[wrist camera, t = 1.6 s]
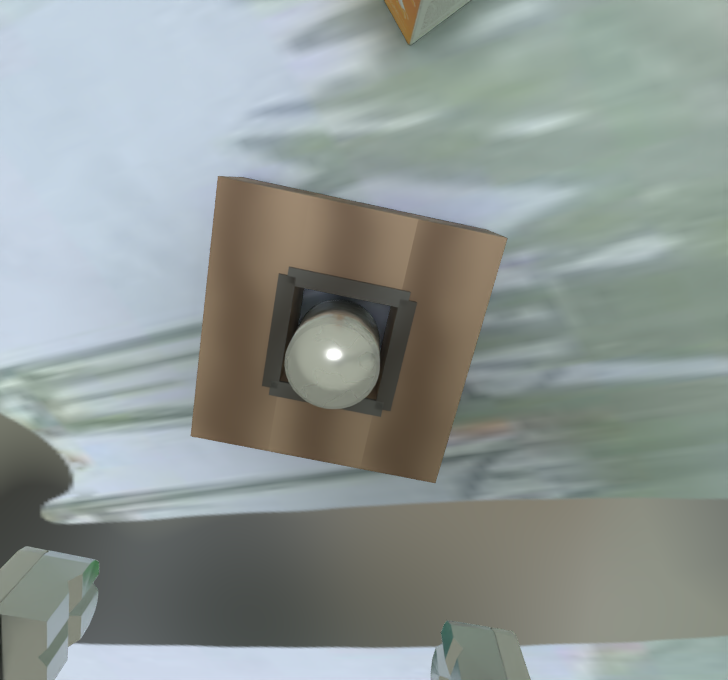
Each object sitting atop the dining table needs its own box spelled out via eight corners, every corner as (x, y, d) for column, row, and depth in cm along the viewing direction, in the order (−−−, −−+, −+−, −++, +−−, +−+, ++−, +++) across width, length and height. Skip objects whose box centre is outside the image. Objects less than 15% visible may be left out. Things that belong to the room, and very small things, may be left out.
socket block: (487, 229, 31) (508, 238, 26) (427, 443, 36) (435, 484, 31) (242, 177, 31) (216, 176, 26) (215, 402, 35) (189, 437, 31)
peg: (387, 308, 29) (389, 331, 24) (370, 384, 30) (369, 417, 26) (304, 291, 29) (292, 311, 24) (291, 368, 30) (277, 399, 26)
